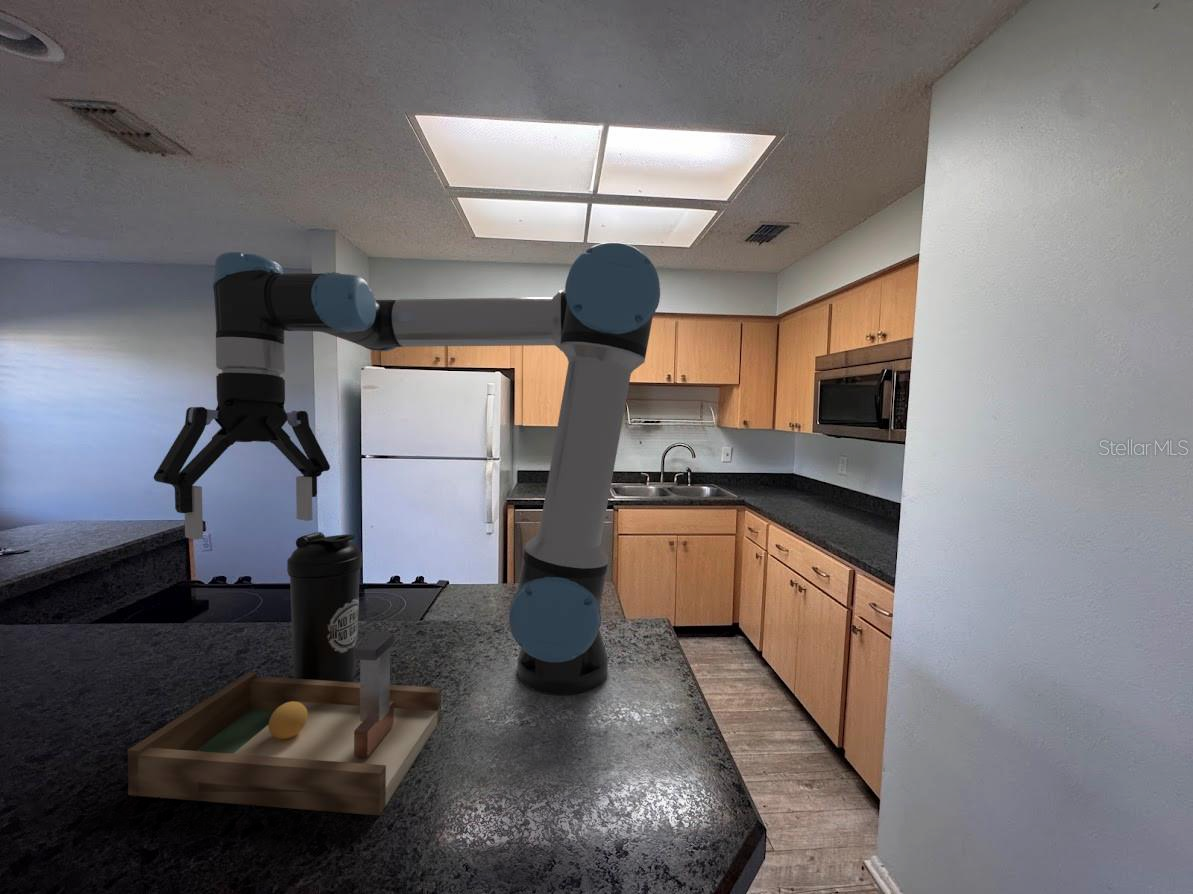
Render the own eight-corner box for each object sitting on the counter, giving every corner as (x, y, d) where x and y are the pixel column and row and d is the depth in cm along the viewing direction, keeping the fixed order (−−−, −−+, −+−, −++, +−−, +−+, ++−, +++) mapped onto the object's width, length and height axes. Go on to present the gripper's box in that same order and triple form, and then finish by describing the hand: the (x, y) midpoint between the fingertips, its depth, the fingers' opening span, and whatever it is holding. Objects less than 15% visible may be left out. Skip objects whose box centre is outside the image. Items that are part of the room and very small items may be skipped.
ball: (314, 726, 59) (314, 695, 59) (292, 748, 55) (292, 715, 55) (284, 724, 59) (284, 693, 59) (260, 745, 55) (260, 712, 55)
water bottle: (328, 702, 68) (329, 545, 67) (270, 692, 70) (270, 540, 69) (375, 667, 78) (376, 531, 77) (322, 659, 80) (323, 526, 79)
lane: (440, 719, 64) (441, 684, 64) (379, 815, 48) (379, 768, 48) (248, 706, 66) (248, 672, 66) (128, 795, 50) (127, 749, 50)
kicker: (396, 724, 59) (397, 631, 59) (370, 757, 53) (371, 653, 53) (378, 723, 60) (379, 630, 59) (350, 756, 54) (351, 652, 53)
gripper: (324, 383, 76) (325, 511, 77) (114, 363, 54) (119, 543, 55) (353, 381, 73) (355, 515, 73) (142, 359, 51) (147, 552, 51)
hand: (254, 528), depth 64 cm, fingers open, 13 cm apart
